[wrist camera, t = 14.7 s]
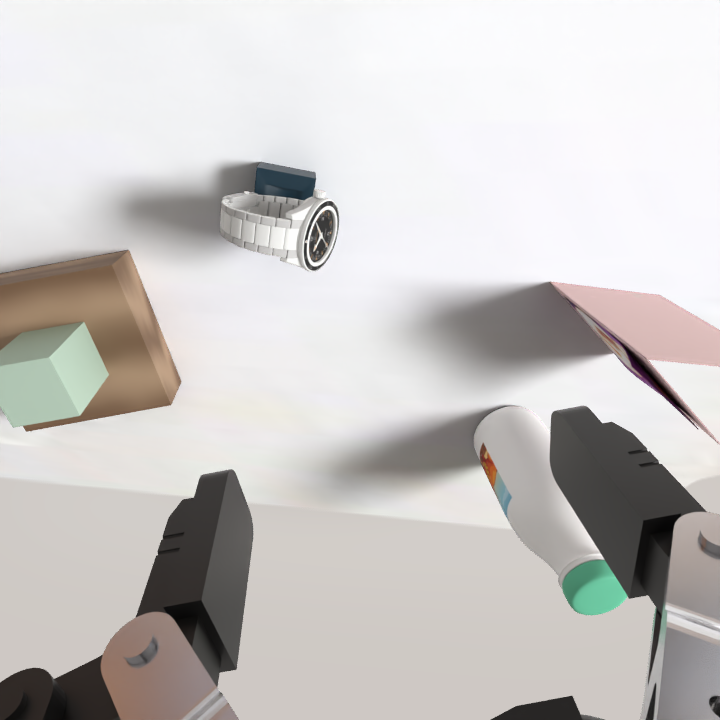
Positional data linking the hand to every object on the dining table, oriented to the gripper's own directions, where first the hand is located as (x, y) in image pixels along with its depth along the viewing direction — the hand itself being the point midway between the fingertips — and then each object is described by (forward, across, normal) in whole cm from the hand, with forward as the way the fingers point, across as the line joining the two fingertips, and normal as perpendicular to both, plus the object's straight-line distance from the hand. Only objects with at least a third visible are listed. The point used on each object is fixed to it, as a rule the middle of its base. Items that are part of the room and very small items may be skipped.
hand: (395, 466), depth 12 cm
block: (+28, +24, +7) cm, 38 cm away
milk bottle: (+32, -14, +27) cm, 44 cm away
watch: (+32, +4, -1) cm, 33 cm away
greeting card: (+32, -24, +13) cm, 42 cm away
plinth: (+32, +24, +7) cm, 41 cm away
